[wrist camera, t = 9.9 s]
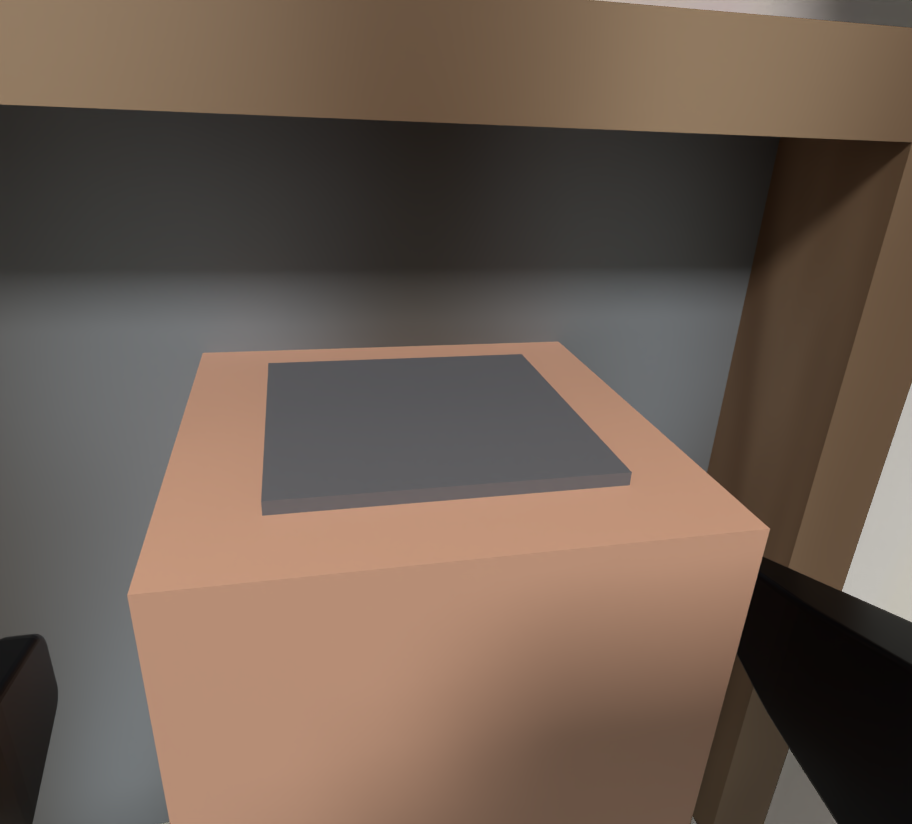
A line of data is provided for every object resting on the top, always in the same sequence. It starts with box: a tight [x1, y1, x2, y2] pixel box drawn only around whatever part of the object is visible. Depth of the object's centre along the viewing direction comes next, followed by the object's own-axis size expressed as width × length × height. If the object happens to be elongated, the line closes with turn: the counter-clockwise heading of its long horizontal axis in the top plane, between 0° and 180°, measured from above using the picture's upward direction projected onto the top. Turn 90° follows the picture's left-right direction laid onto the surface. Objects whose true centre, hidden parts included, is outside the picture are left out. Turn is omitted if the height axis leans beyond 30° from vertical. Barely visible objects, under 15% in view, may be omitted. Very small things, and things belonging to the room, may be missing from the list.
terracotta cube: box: [127, 342, 770, 824], centre depth 9 cm, size 6×6×6 cm
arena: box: [0, 0, 912, 824], centre depth 11 cm, size 14×14×3 cm
